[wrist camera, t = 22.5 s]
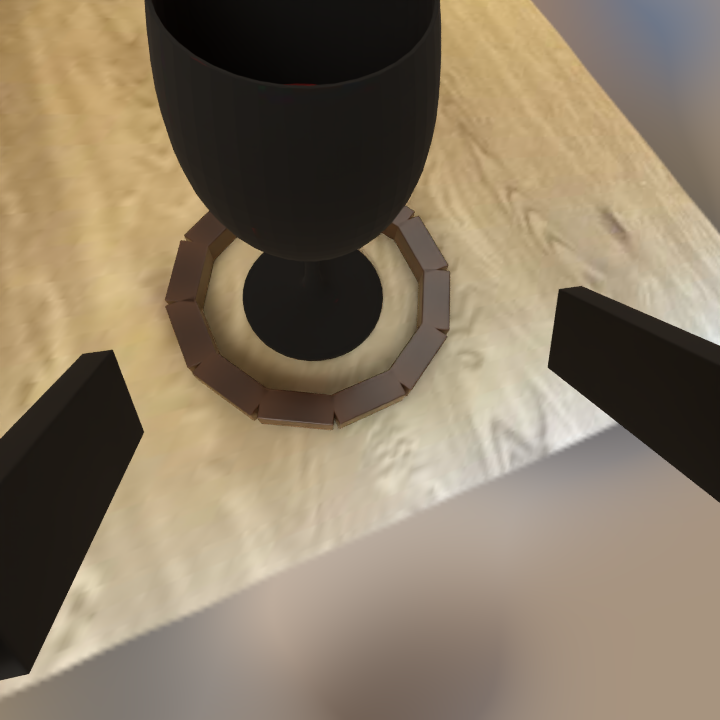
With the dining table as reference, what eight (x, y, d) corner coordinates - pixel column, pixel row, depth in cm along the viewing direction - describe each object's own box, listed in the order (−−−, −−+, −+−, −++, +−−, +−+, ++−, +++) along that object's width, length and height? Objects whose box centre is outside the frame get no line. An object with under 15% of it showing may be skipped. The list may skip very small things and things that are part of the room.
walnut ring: (441, 440, 28) (448, 436, 27) (148, 412, 28) (136, 407, 26) (445, 204, 35) (451, 189, 33) (208, 176, 34) (201, 158, 32)
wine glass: (290, 215, 33) (245, -158, 15) (406, 275, 32) (518, -42, 14) (214, 318, 30) (26, 7, 11) (340, 388, 29) (367, 175, 10)
